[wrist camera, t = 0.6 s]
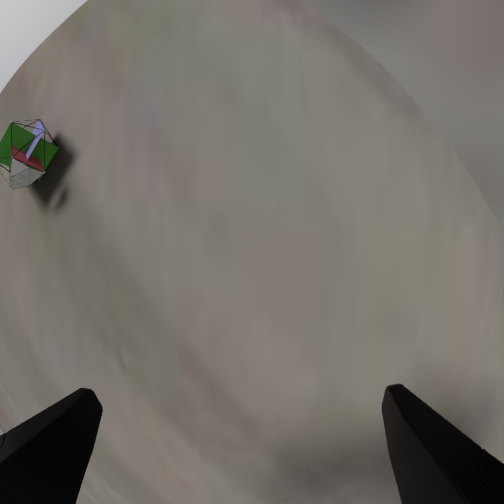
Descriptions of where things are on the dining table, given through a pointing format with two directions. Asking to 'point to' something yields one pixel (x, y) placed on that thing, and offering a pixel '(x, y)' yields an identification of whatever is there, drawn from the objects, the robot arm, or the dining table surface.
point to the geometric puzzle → (26, 154)
